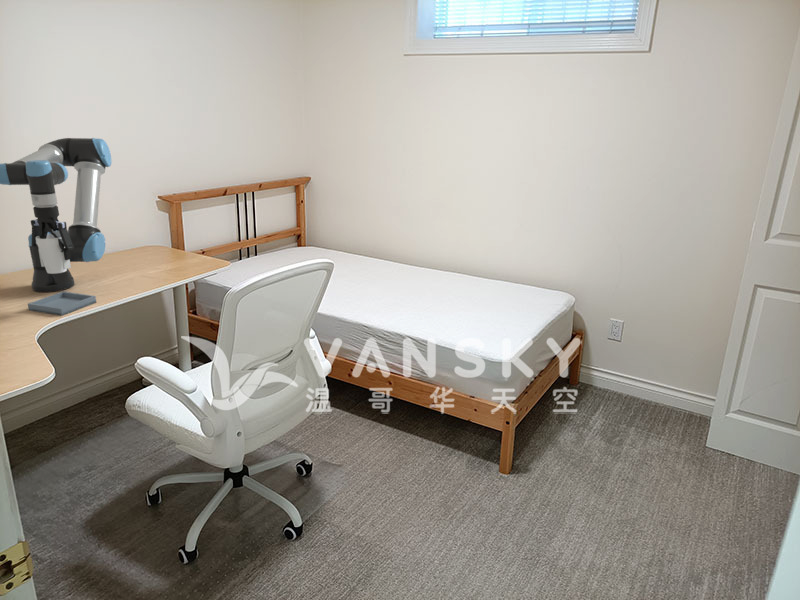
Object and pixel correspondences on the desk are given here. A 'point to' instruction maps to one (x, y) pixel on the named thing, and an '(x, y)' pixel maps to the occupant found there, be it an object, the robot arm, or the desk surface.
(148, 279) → the desk surface
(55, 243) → the foam cup
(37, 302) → the grey tray
